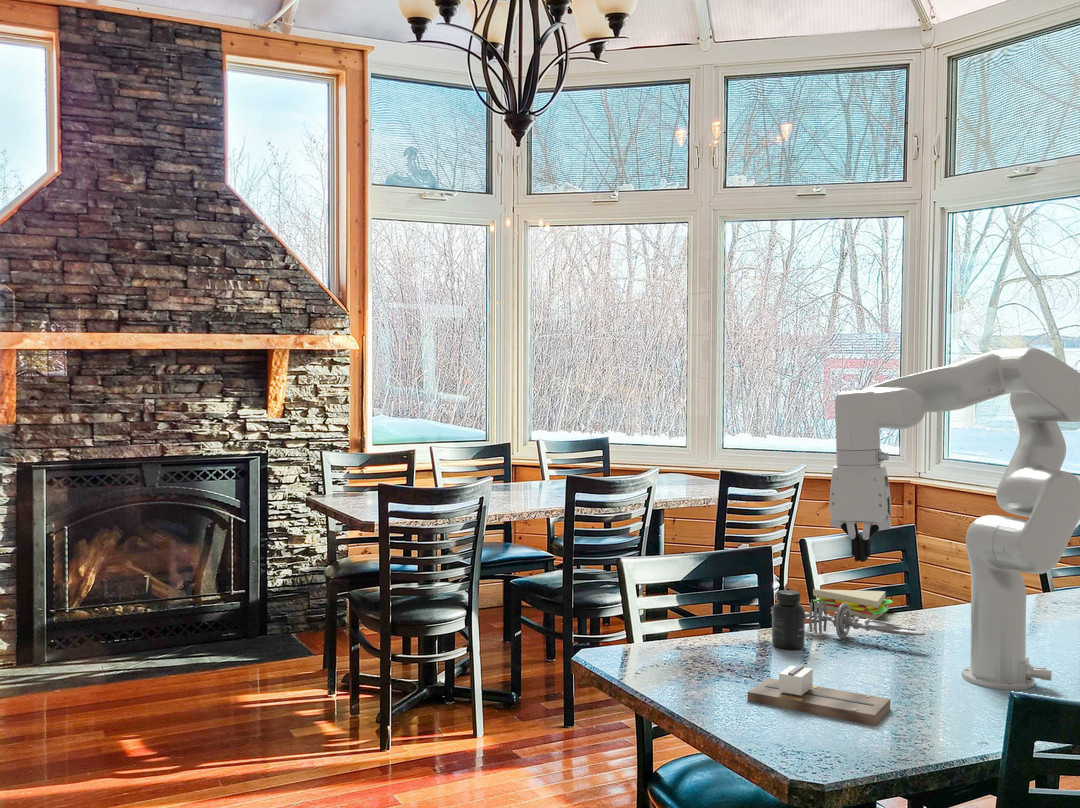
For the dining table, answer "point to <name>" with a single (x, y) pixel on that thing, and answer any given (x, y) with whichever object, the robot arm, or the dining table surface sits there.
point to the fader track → (823, 702)
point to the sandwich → (854, 601)
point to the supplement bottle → (788, 621)
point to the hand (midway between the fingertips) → (861, 560)
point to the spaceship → (852, 622)
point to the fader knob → (796, 680)
